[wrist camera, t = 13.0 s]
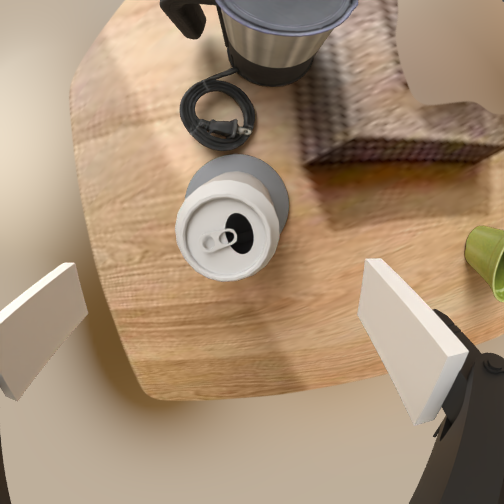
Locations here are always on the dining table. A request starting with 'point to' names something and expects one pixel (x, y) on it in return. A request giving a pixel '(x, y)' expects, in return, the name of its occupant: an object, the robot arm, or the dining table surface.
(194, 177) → the coaster
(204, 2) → the milk frother
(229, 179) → the can
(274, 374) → the dining table surface
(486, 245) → the plant pot
